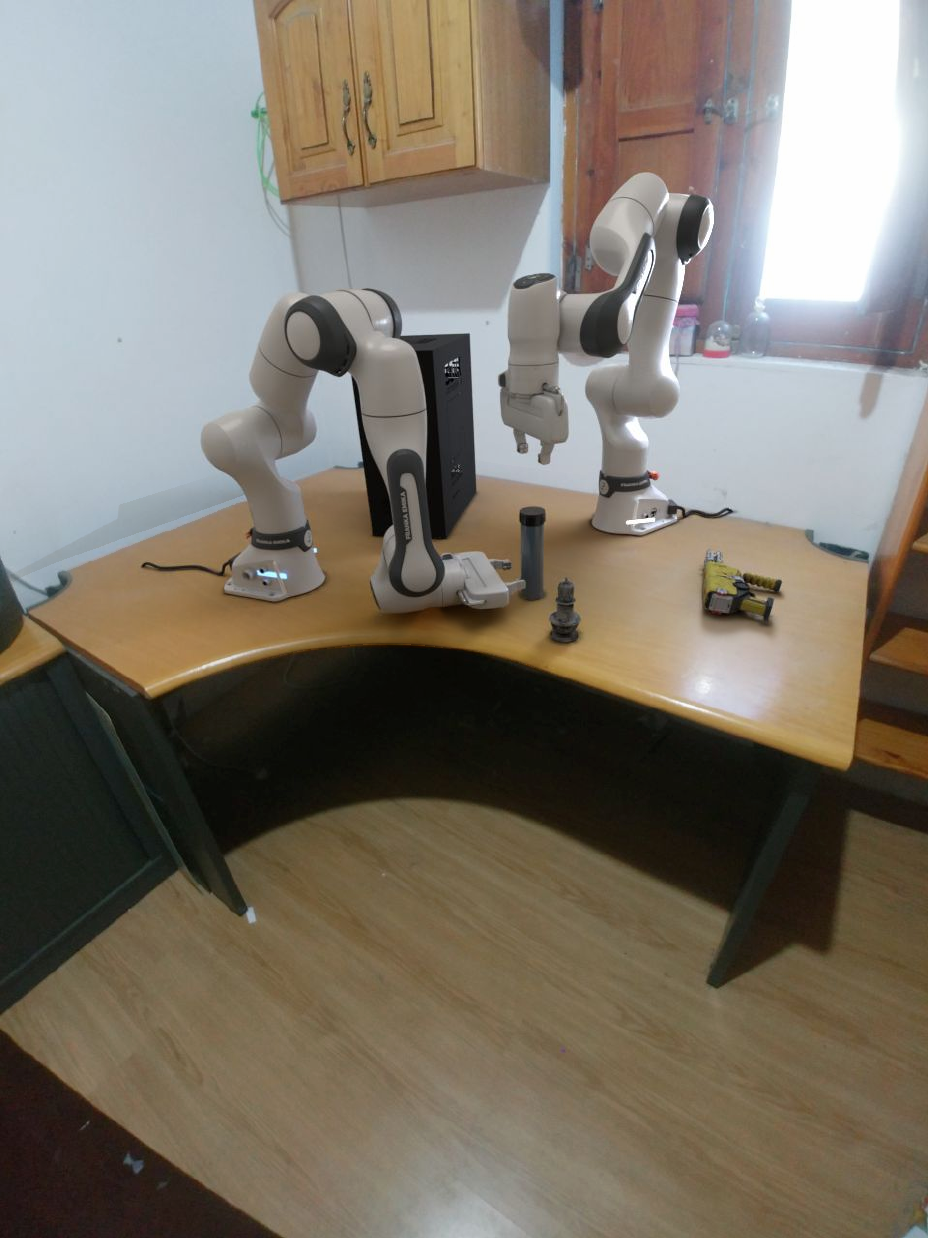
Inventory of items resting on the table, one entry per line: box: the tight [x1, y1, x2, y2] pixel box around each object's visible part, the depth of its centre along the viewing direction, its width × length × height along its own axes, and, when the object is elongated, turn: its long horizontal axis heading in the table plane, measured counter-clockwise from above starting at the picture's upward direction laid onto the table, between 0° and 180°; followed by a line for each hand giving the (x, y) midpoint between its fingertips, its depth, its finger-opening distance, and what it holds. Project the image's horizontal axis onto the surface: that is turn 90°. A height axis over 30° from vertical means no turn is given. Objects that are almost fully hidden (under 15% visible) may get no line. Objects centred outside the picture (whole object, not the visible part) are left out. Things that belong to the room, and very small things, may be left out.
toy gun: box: [702, 548, 783, 622], centre depth 122 cm, size 5×24×15 cm
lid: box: [518, 505, 547, 526], centre depth 119 cm, size 5×5×2 cm
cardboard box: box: [350, 332, 477, 540], centre depth 163 cm, size 38×20×45 cm, turn 167°
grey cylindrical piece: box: [520, 523, 545, 601], centre depth 123 cm, size 5×5×18 cm
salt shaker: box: [548, 576, 582, 643], centre depth 110 cm, size 6×6×12 cm
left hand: (517, 573), depth 124 cm, fingers open, 8 cm apart
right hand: (532, 458), depth 113 cm, fingers open, 7 cm apart
